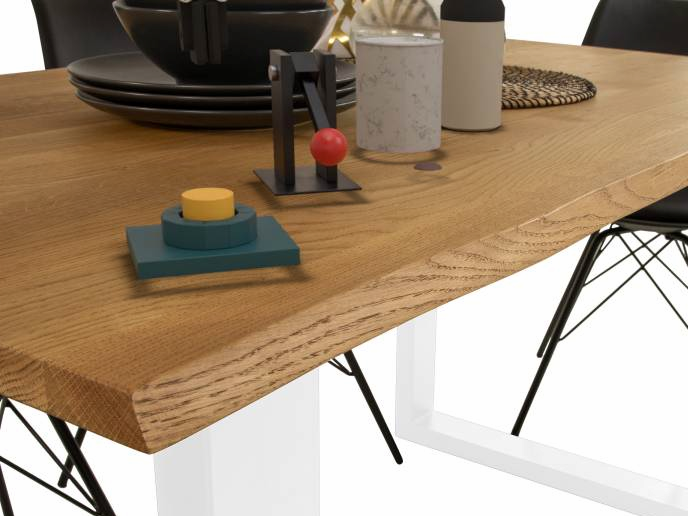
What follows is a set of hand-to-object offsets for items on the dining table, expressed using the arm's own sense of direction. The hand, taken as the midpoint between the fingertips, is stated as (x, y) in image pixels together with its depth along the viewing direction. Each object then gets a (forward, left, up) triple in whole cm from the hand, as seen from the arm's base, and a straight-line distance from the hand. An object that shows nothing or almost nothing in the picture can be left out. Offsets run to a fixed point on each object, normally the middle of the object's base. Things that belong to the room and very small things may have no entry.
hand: (205, 61), depth 68 cm
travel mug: (+40, +47, -15) cm, 63 cm away
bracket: (+12, +20, -15) cm, 27 cm away
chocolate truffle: (+25, +22, -15) cm, 36 cm away
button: (0, 0, -11) cm, 11 cm away
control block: (0, 0, -15) cm, 15 cm away
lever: (+12, +16, -8) cm, 22 cm away
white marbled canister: (+26, +34, -15) cm, 45 cm away
